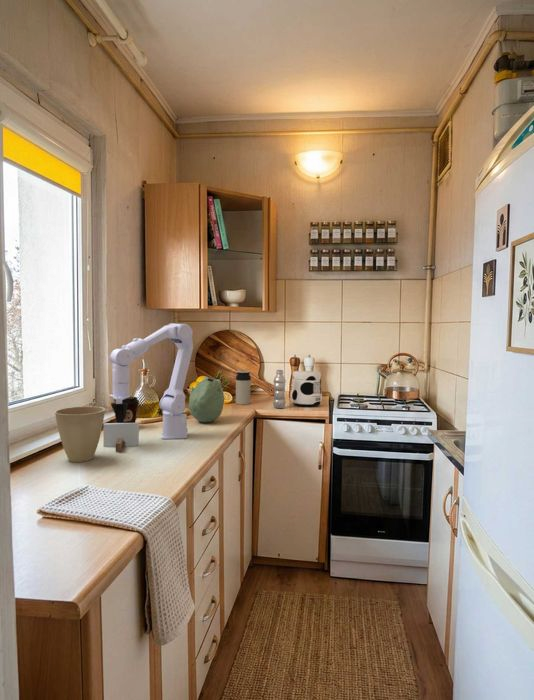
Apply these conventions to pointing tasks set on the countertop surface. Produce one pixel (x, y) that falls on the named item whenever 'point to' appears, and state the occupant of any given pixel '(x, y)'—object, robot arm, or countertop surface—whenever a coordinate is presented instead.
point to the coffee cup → (131, 410)
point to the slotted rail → (119, 445)
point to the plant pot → (80, 431)
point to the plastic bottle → (279, 390)
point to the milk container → (306, 388)
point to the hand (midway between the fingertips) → (121, 420)
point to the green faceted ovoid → (206, 400)
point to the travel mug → (243, 387)
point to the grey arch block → (121, 433)
